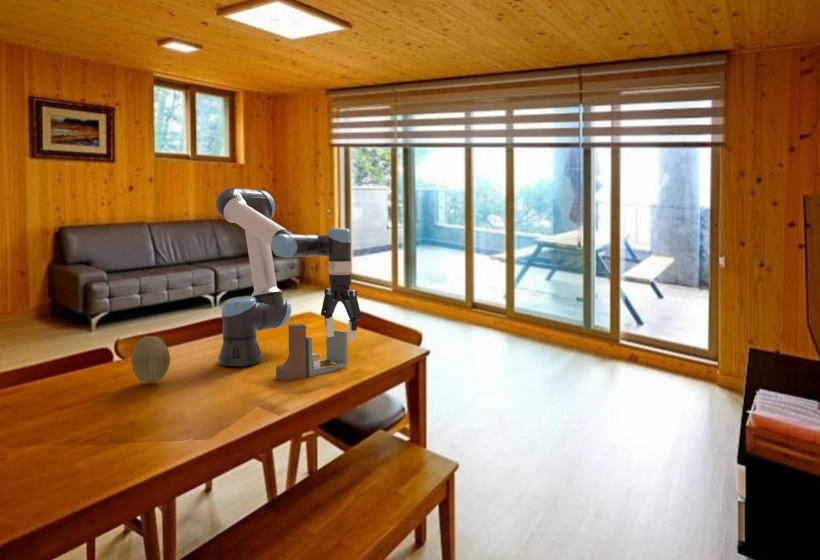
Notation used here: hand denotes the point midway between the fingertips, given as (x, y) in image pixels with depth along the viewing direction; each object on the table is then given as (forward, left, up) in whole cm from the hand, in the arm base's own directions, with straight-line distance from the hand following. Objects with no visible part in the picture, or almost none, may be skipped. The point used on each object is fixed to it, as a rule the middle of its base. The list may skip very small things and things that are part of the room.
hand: (341, 338), depth 188 cm
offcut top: (-9, -7, -7) cm, 13 cm away
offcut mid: (-9, -7, -10) cm, 15 cm away
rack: (-9, -2, -12) cm, 15 cm away
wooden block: (-8, -15, -13) cm, 21 cm away
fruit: (-39, -47, -12) cm, 62 cm away
